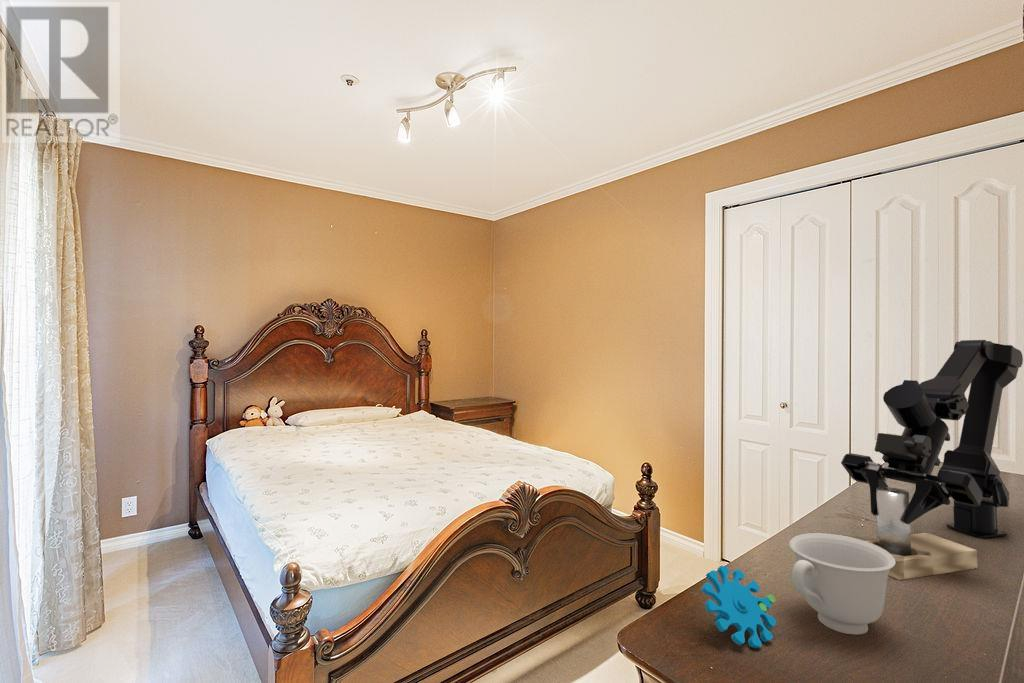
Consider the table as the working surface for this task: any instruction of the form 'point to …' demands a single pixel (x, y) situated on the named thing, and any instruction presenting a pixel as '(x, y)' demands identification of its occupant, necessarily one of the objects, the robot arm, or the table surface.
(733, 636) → the gear
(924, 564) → the jig
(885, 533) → the translucent cylinder
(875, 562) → the teacup
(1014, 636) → the table surface
